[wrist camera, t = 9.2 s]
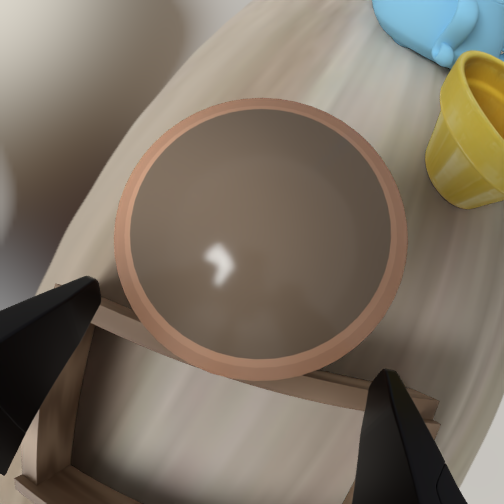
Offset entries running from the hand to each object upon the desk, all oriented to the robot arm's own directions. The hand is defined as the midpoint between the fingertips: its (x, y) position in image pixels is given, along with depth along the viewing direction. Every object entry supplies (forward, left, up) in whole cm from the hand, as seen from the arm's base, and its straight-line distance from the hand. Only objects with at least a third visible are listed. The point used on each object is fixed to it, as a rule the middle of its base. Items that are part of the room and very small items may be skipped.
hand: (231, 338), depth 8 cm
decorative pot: (+35, -11, -11) cm, 38 cm away
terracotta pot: (+3, 0, -10) cm, 11 cm away
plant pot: (+16, -13, -11) cm, 23 cm away
